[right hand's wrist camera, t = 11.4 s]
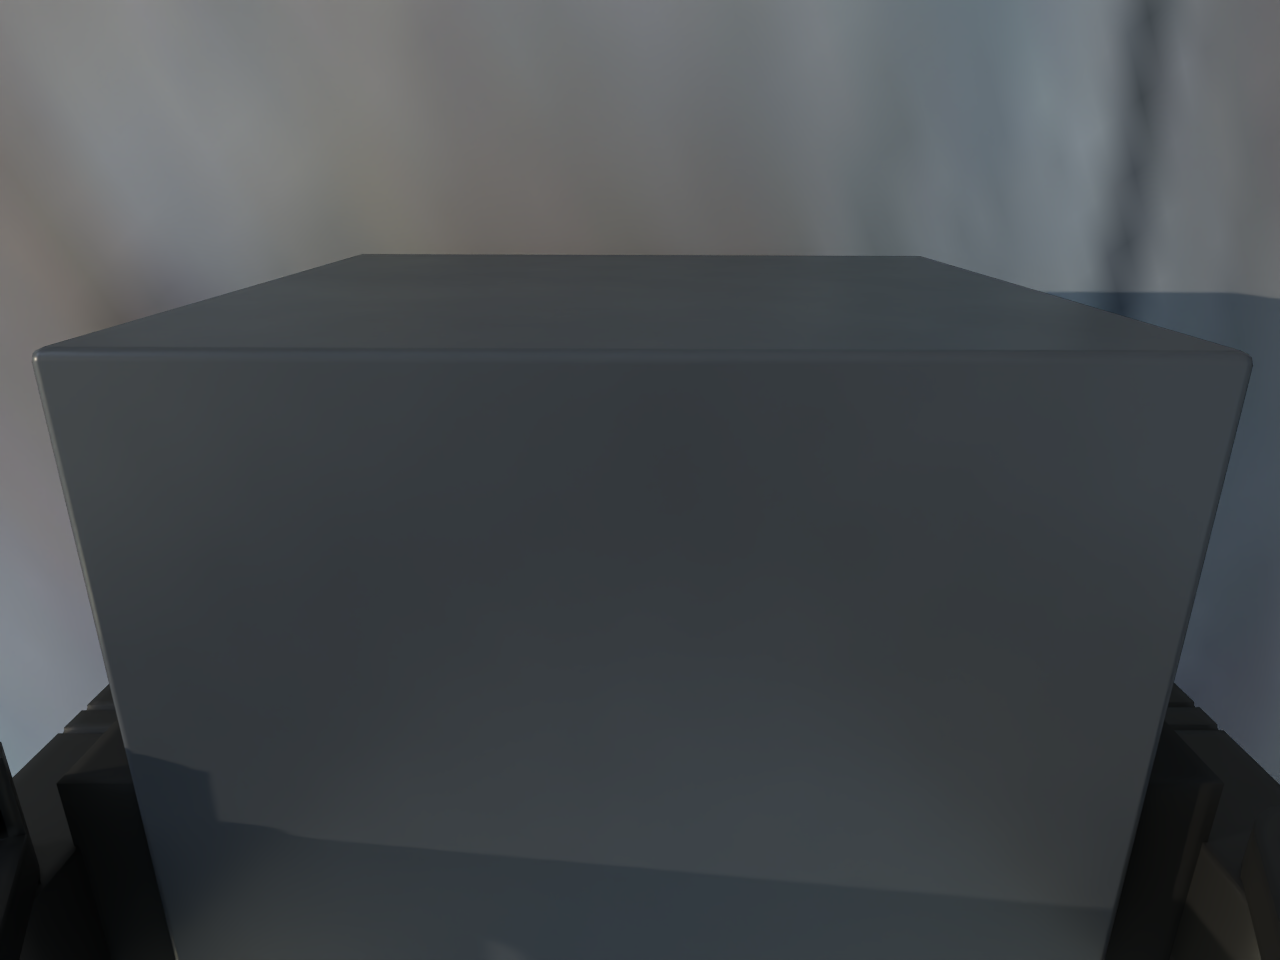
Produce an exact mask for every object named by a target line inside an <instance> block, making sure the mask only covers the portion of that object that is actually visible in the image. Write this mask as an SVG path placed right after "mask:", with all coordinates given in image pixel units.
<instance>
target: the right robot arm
mask: <svg viewBox="0 0 1280 960" xmlns="http://www.w3.org/2000/svg"><path fill="white" fill-rule="evenodd" d="M0 960H176V959H175V955H174V951H173V947H172V942H171V938H170V934H169V930H168V926H167V922H166V918H165V913H164V909H163V905H162V901H161V897H160V893H159V888H158V884H157V880H156V876H155V872H154V868H153V863H152V859H151V855H150V851H149V847H148V843H147V839H146V834H145V830H144V826H143V822H142V818H141V814H140V809H139V805H138V801H137V797H136V793H135V789H134V784H133V780H132V776H131V772H130V768H129V764H128V759H127V755H126V751H125V747H124V743H123V739H122V735H121V730H120V726H119V722H118V718H117V714H116V710H115V705H114V701H113V697H112V693H111V689H110V685H108V686H107V687H105V688H104V689H103V690H102V691H101V692H100V693H99V694H98V695H97V696H96V697H95V698H94V699H93V700H92V701H91V702H90V703H89V704H88V705H87V710H82V711H81V712H80V713H79V714H78V715H77V716H76V717H75V718H74V719H73V720H72V721H71V722H69V723H68V724H67V725H66V726H65V727H64V733H58V734H57V735H56V736H55V737H54V738H53V739H52V740H51V741H50V742H49V743H48V744H47V745H46V746H45V747H44V748H43V749H42V750H41V751H40V752H39V753H38V754H37V755H36V756H35V757H33V758H32V759H31V760H30V761H29V762H28V763H27V764H26V765H25V766H24V767H23V768H22V769H21V770H20V771H19V772H18V773H17V774H16V775H15V776H14V777H13V778H12V775H11V772H10V769H9V766H8V763H7V759H6V756H5V753H4V750H3V746H2V743H1V742H0ZM1105 960H1280V785H1279V784H1278V783H1277V782H1276V781H1275V780H1274V779H1273V778H1272V777H1271V776H1270V775H1269V774H1268V773H1267V772H1266V771H1265V770H1264V769H1263V768H1262V767H1261V766H1260V765H1259V764H1258V763H1257V762H1256V761H1255V760H1254V759H1253V758H1251V757H1250V756H1249V755H1248V754H1247V753H1246V752H1245V751H1244V750H1243V749H1242V748H1241V747H1240V746H1239V745H1238V744H1237V743H1236V742H1235V741H1234V740H1233V739H1232V738H1231V737H1230V736H1229V735H1228V734H1227V733H1226V732H1225V731H1224V730H1218V728H1217V724H1216V723H1215V722H1214V721H1213V720H1212V719H1211V718H1210V717H1209V716H1208V715H1207V714H1206V713H1205V712H1204V711H1203V710H1202V709H1201V708H1200V707H1195V706H1194V702H1193V701H1192V700H1191V699H1190V698H1189V697H1188V696H1187V695H1186V694H1185V693H1184V692H1183V691H1182V690H1181V689H1180V688H1179V687H1178V686H1177V685H1176V684H1175V683H1173V687H1172V691H1171V695H1170V699H1169V703H1168V707H1167V711H1166V715H1165V719H1164V723H1163V727H1162V731H1161V735H1160V739H1159V743H1158V747H1157V751H1156V755H1155V759H1154V763H1153V767H1152V771H1151V775H1150V779H1149V783H1148V787H1147V791H1146V795H1145V799H1144V803H1143V807H1142V811H1141V815H1140V819H1139V823H1138V827H1137V831H1136V835H1135V839H1134V843H1133V847H1132V851H1131V855H1130V859H1129V863H1128V867H1127V871H1126V875H1125V879H1124V883H1123V887H1122V891H1121V895H1120V899H1119V904H1118V908H1117V912H1116V916H1115V920H1114V924H1113V928H1112V932H1111V936H1110V940H1109V944H1108V948H1107V952H1106V956H1105Z"/></svg>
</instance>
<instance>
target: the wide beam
mask: <svg viewBox="0 0 1280 960" xmlns="http://www.w3.org/2000/svg"><path fill="white" fill-rule="evenodd" d="M32 364H33V369H34V373H35V377H36V381H37V385H38V389H39V394H40V398H41V402H42V406H43V410H44V414H45V419H46V423H47V427H48V431H49V435H50V439H51V443H52V448H53V452H54V456H55V460H56V464H57V468H58V473H59V477H60V481H61V485H62V489H63V493H64V498H65V502H66V506H67V510H68V514H69V518H70V522H71V527H72V531H73V535H74V539H75V543H76V547H77V552H78V556H79V560H80V564H81V568H82V572H83V577H84V581H85V585H86V589H87V593H88V597H89V601H90V606H91V610H92V614H93V618H94V622H95V626H96V631H97V635H98V639H99V643H100V647H101V651H102V656H103V660H104V664H105V668H106V672H107V676H108V680H109V685H110V689H111V693H112V697H113V701H114V705H115V710H116V714H117V718H118V722H119V726H120V730H121V735H122V739H123V743H124V747H125V751H126V755H127V759H128V764H129V768H130V772H131V776H132V780H133V784H134V789H135V793H136V797H137V801H138V805H139V809H140V814H141V818H142V822H143V826H144V830H145V834H146V839H147V843H148V847H149V851H150V855H151V859H152V863H153V868H154V872H155V876H156V880H157V884H158V888H159V893H160V897H161V901H162V905H163V909H164V913H165V918H166V922H167V926H168V930H169V934H170V938H171V942H172V947H173V951H174V955H175V959H176V960H1105V956H1106V952H1107V948H1108V944H1109V940H1110V936H1111V932H1112V928H1113V924H1114V920H1115V916H1116V912H1117V908H1118V904H1119V899H1120V895H1121V891H1122V887H1123V883H1124V879H1125V875H1126V871H1127V867H1128V863H1129V859H1130V855H1131V851H1132V847H1133V843H1134V839H1135V835H1136V831H1137V827H1138V823H1139V819H1140V815H1141V811H1142V807H1143V803H1144V799H1145V795H1146V791H1147V787H1148V783H1149V779H1150V775H1151V771H1152V767H1153V763H1154V759H1155V755H1156V751H1157V747H1158V743H1159V739H1160V735H1161V731H1162V727H1163V723H1164V719H1165V715H1166V711H1167V707H1168V703H1169V699H1170V695H1171V691H1172V687H1173V683H1174V679H1175V675H1176V671H1177V667H1178V663H1179V659H1180V655H1181V651H1182V647H1183V643H1184V639H1185V635H1186V631H1187V627H1188V623H1189V619H1190V615H1191V611H1192V607H1193V603H1194V599H1195V595H1196V591H1197V587H1198V583H1199V579H1200V575H1201V571H1202V567H1203V563H1204V559H1205V555H1206V551H1207V547H1208V543H1209V539H1210V535H1211V531H1212V527H1213V523H1214V519H1215V515H1216V511H1217V507H1218V503H1219V499H1220V495H1221V491H1222V487H1223V483H1224V479H1225V475H1226V471H1227V467H1228V463H1229V459H1230V455H1231V451H1232V447H1233V443H1234V439H1235V435H1236V431H1237V427H1238V423H1239V419H1240V415H1241V411H1242V407H1243V403H1244V399H1245V395H1246V391H1247V387H1248V383H1249V379H1250V375H1251V371H1252V367H1253V363H1252V357H1251V356H1250V355H1249V354H1247V353H1244V352H1242V351H1240V350H1236V349H1233V348H1230V347H1226V346H1223V345H1219V344H1216V343H1213V342H1209V341H1206V340H1202V339H1199V338H1196V337H1192V336H1189V335H1185V334H1182V333H1179V332H1175V331H1172V330H1169V329H1165V328H1162V327H1158V326H1155V325H1152V324H1148V323H1145V322H1141V321H1138V320H1135V319H1131V318H1128V317H1124V316H1121V315H1118V314H1114V313H1111V312H1107V311H1104V310H1101V309H1097V308H1094V307H1091V306H1087V305H1084V304H1080V303H1077V302H1074V301H1070V300H1067V299H1063V298H1060V297H1057V296H1053V295H1050V294H1046V293H1043V292H1040V291H1036V290H1033V289H1029V288H1026V287H1023V286H1019V285H1016V284H1013V283H1009V282H1006V281H1002V280H999V279H996V278H992V277H989V276H985V275H982V274H979V273H975V272H972V271H968V270H965V269H962V268H958V267H955V266H951V265H948V264H945V263H941V262H938V261H934V260H931V259H928V258H924V257H921V256H713V255H431V254H362V255H358V256H355V257H351V258H348V259H344V260H341V261H337V262H334V263H331V264H327V265H324V266H320V267H317V268H313V269H310V270H306V271H303V272H300V273H296V274H293V275H289V276H286V277H282V278H279V279H275V280H272V281H269V282H265V283H262V284H258V285H255V286H251V287H248V288H244V289H241V290H238V291H234V292H231V293H227V294H224V295H220V296H217V297H213V298H210V299H207V300H203V301H200V302H196V303H193V304H189V305H186V306H182V307H179V308H176V309H172V310H169V311H165V312H162V313H158V314H155V315H151V316H148V317H145V318H141V319H138V320H134V321H131V322H127V323H124V324H120V325H117V326H114V327H110V328H107V329H103V330H100V331H96V332H93V333H89V334H86V335H83V336H79V337H76V338H72V339H69V340H65V341H62V342H58V343H55V344H52V345H48V346H45V347H42V348H40V349H38V350H36V351H35V352H34V353H33V356H32Z"/></svg>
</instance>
